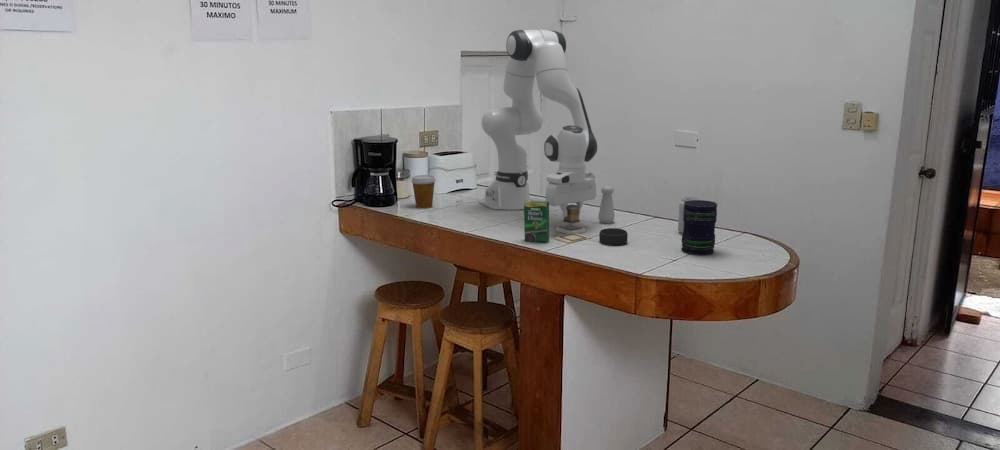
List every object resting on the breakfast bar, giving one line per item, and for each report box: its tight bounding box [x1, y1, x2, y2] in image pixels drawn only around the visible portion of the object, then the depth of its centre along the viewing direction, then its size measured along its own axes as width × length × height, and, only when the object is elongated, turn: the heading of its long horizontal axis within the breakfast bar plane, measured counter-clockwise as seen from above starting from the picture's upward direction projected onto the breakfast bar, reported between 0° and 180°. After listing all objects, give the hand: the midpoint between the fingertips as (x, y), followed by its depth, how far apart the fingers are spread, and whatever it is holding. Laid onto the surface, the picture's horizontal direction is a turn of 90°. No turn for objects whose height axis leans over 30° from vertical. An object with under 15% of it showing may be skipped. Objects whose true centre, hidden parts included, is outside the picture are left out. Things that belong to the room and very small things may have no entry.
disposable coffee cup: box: [411, 174, 436, 209], centre depth 281 cm, size 10×10×12 cm
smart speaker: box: [598, 227, 629, 246], centre depth 228 cm, size 9×9×4 cm
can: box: [677, 196, 702, 235], centre depth 238 cm, size 8×8×12 cm
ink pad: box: [556, 223, 586, 235], centre depth 242 cm, size 8×6×2 cm
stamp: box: [562, 203, 581, 224], centre depth 241 cm, size 4×4×5 cm
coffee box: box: [523, 200, 550, 244], centre depth 229 cm, size 8×3×13 cm, turn 67°
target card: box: [553, 233, 592, 244], centre depth 233 cm, size 7×10×1 cm
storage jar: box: [681, 199, 718, 256], centre depth 216 cm, size 10×10×15 cm
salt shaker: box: [598, 185, 616, 225], centre depth 254 cm, size 6×6×13 cm
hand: (571, 215), depth 241 cm, fingers closed on stamp, 4 cm apart
